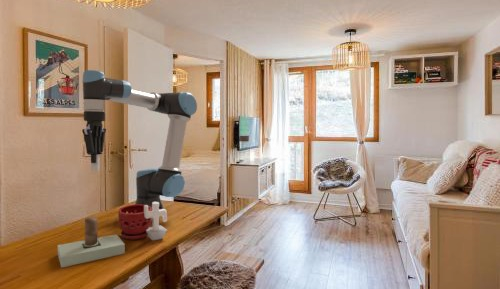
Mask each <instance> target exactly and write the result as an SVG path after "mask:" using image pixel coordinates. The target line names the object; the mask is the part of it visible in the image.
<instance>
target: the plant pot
mask: <svg viewBox="0 0 500 289" xmlns="http://www.w3.org/2000/svg"><path fill="white" fill-rule="evenodd" d="M135 210H136V211H137V212H134V211H135ZM143 210H144V205H142V204H136V205H135V204H129V205H125V206H122V207H120V208H119V209H118V223H119V227H120V229H121V232H120V236H121V237H122V238H123V239H125V240H132V241H133V240H140V239H144V238H145V237H148V235H147V233H146V229H148V228H149V227H151V223H152V218H148V219H146V218H145V217H144V212H143ZM148 211H152V208H151V207H150V206H148Z"/></svg>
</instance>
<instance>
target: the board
mask: <svg viewBox="0 0 500 289" xmlns="http://www.w3.org/2000/svg"><path fill="white" fill-rule="evenodd" d="M97 242H98V245H97V246H96V247H92V248H87V249H86V248H85V246H84V244H85V239H84V240H77V241H73V242H69V243H68V242H67V243H62V244H57V256H58V257H57V258H58V261H59V264H60V268H66V267H70V266H75V265H79V264H83V263H89V262H93V261H97V260H101V259H106V258H111V257H114V256H119V255H123V254H126V247H125V246H126V244H125V243H124V241H123V240H122V239H121V237H119V236H118V234H117V233H115V234H110V235H105V236H101V237H97Z"/></svg>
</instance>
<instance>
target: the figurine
mask: <svg viewBox="0 0 500 289" xmlns="http://www.w3.org/2000/svg"><path fill="white" fill-rule="evenodd" d="M144 217H145V218H146V219H148V218H151V223H152V225H151V226H149V228H148V229H146V233H147V237H148V238H149V239H150V240H151V241H156V240H162V239H164V237H165V235H166V233H167V231H168V229H167V228H165V227H164V226H162V225H161V224H160V219H159V218H160V217H162V222H163V223H166V222H168V212H167V209H165V208H163V209H161V210H159V202H152V211H148V205H144Z"/></svg>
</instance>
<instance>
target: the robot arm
mask: <svg viewBox="0 0 500 289" xmlns="http://www.w3.org/2000/svg"><path fill="white" fill-rule="evenodd" d="M81 81H82V82H81V83H82V98H83V102H82V104H83V110H84V111H83V121H85V122H86V127H85V129H84V128H83V129H82V130H81V131H82V134H83V136H84V142H85V143H84V144H85V149H86V153H87V155H89V156H90V172H100V171H101V164H100V163H101V159H100V157H101V156H100V155H102V154H103V152H104V146H105V137H106V131H107V128H104V127H103V122H105V121H106V113H105V112H104V111H105V110H106V101H108V102H109V101H110V102H114V103H120V104H124V105H130V106H136V107H141V108H144V109H145V108H146V109H147V110H148V111H151V112H156V113H158V114H159V113H160V114H164V115H167V117H168V118H169V123H168V124H169V125H168V129H167V135H166V140H165V146H164V151H163V152H164V153H163V159H162V164H161V166H159V167H156V168H147V169H140V170H138V171H137V172H136V177H135V179H136V180H135V181H136V200H135V202H134V205H136V204H142V205H148V206H150V207H151V208H152V202H159V210H161V209H164V206H163V203H162V200H161V196H162V197H165V198H175V197H178V196H179V195H180V194H181V193H182V192H183V190H184V188H185V179H184V176H183V175H182V170H181V168H180V166H181V158H182V154H183V153H182V152H183V147H184V146H183V145H184V143H185V135H186V131H187V130H186V128H187V123H188V122H190V121H191V117H192V116H193V115H195V113H197V110H198V103H197V99H196V98H195V96H194V95H193V94H192V93H191V92H187V91H186V92H184V91H181V92H164V93H163V92H162V93H160V92H159V93H157V92H150V93H148V92H145V91H140V90H137V89H133V88H132V85H131V83H130V82H129V81H127V80H124V79H115V78H108V77H106V76H105V72H103V71H101V70H93V69H88V70H84V71H83V73H82V80H81ZM134 212H137V211H136V210H135V211H134ZM143 212H144V210H143Z"/></svg>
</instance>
